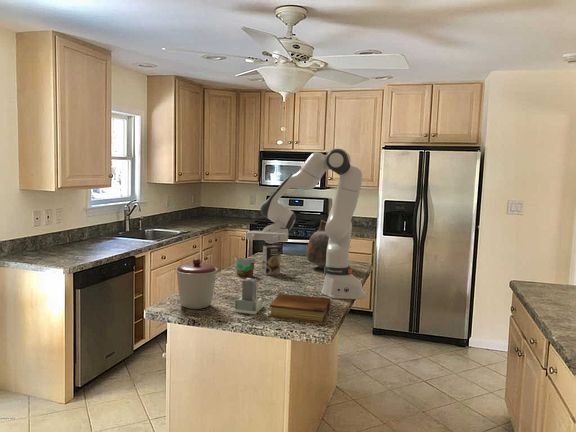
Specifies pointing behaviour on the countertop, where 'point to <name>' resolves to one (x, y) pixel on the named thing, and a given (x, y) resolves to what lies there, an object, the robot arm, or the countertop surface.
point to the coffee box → (271, 260)
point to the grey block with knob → (249, 289)
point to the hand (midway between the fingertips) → (262, 238)
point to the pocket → (248, 306)
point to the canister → (196, 284)
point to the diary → (300, 307)
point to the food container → (244, 266)
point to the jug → (318, 246)
